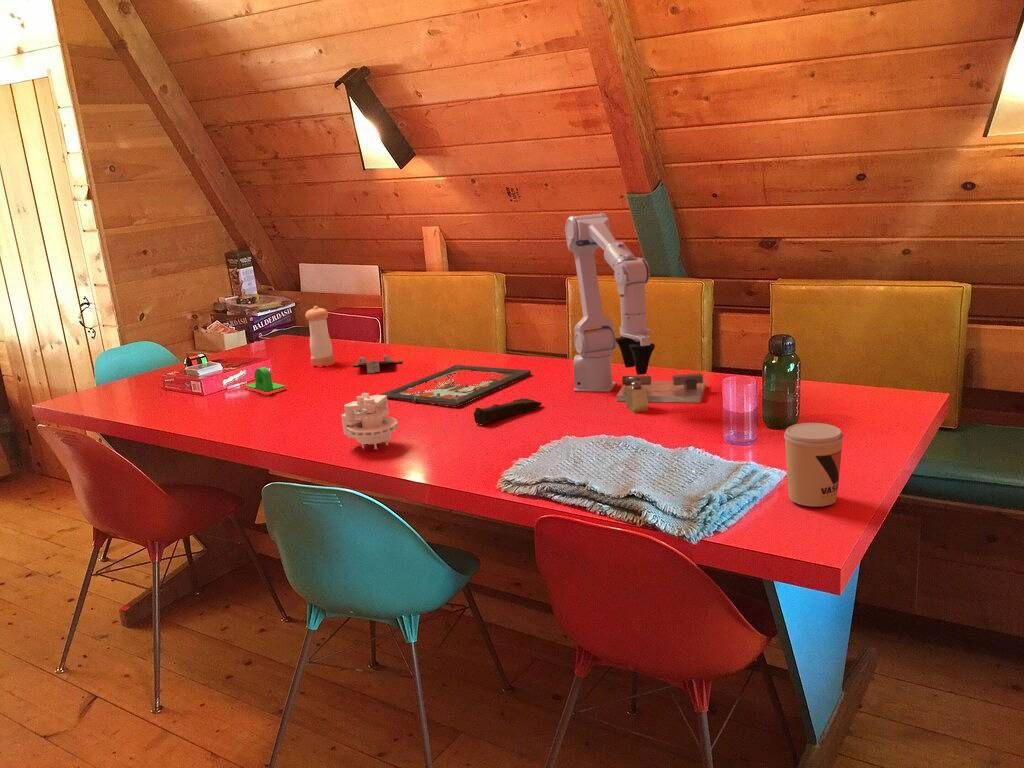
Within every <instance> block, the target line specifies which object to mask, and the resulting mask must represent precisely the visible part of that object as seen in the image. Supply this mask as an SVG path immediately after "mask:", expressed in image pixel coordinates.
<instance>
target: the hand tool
mask: <svg viewBox="0 0 1024 768" xmlns="http://www.w3.org/2000/svg"><path fill="white" fill-rule="evenodd" d="M542 404H543V403H542V402H540V401H536V400H534V399H529V398H519V399H514V400H513V401H509V402H505V403H501V404H497V403H495V404H493V405H491V406H488V407H484V408H481V407H476V408H475V410H474V412H473V418H474V422H475V424H477V423H478V424H482V425H484V426H485V425H486V424H487V423H489V422H493V421H498V420H501V418H502V419H504V417H505V418H508V417H507V416H509V417H512V416H515V415H517V413H518V414H521V413H520V412H522V413H528V412H527V411H529V412H531V411H533V410H535V409H537V408H538V407H540V406H541V405H542ZM530 410H531V411H530ZM514 414H515V415H514ZM511 415H512V416H511ZM497 419H498V420H497ZM478 424H477V425H478ZM482 425H481V426H482Z"/></svg>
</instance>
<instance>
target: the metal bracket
mask: <svg viewBox="0 0 1024 768" xmlns="http://www.w3.org/2000/svg"><path fill="white" fill-rule="evenodd" d="M358 360H359V362H354V363H353V364H352V367H360V366H359V365H362V366H366V374H367V373H373V374H376V373H375V372H381V371H380V370H381V369H380V365H384V364H385V365H387V364H396V363H397V364H398V363H403V360H395V361H394V360H392V359H390V356H389V355H387V354H384V355H383V360H378V361H377V360H375V359H374V358H371V361H367V359H366V357H362V356H361V357H360V356H359V359H358ZM386 363H387V364H386Z"/></svg>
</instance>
